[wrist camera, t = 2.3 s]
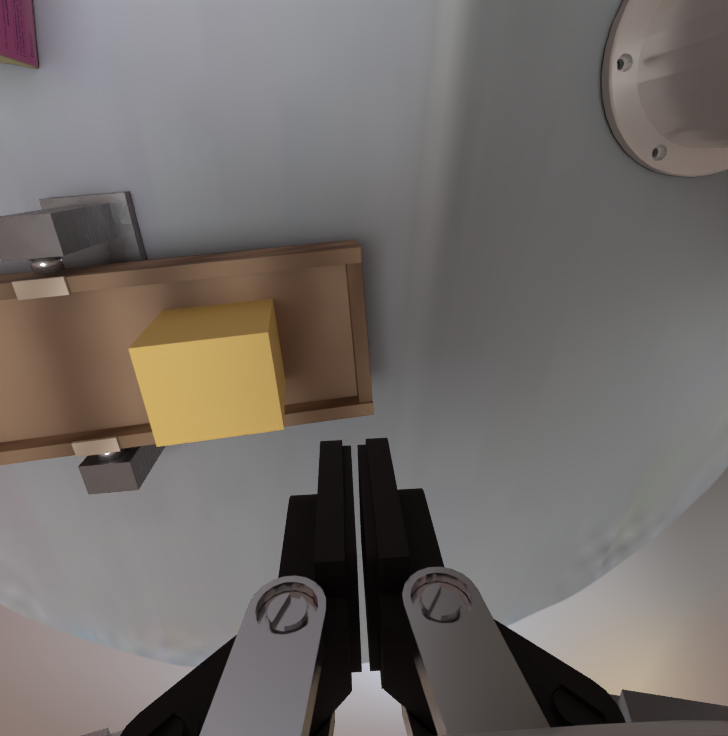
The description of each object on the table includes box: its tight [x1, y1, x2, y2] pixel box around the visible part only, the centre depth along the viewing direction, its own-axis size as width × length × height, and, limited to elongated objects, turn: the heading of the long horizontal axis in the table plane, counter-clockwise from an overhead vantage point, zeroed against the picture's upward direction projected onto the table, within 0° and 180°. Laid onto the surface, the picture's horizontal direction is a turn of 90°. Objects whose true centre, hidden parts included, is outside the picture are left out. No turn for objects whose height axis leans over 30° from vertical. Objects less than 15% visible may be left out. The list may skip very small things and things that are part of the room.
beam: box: [0, 240, 374, 465], centre depth 27 cm, size 32×10×3 cm, turn 94°
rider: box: [128, 298, 285, 447], centre depth 25 cm, size 6×5×6 cm
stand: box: [0, 192, 165, 494], centre depth 29 cm, size 5×17×7 cm, turn 4°
